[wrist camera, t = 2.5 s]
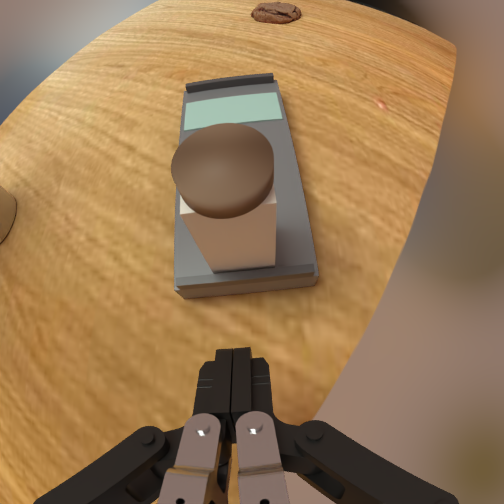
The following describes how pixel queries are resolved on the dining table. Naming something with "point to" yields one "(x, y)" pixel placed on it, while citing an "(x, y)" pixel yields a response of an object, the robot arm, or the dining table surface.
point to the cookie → (276, 13)
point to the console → (285, 184)
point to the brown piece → (228, 196)
